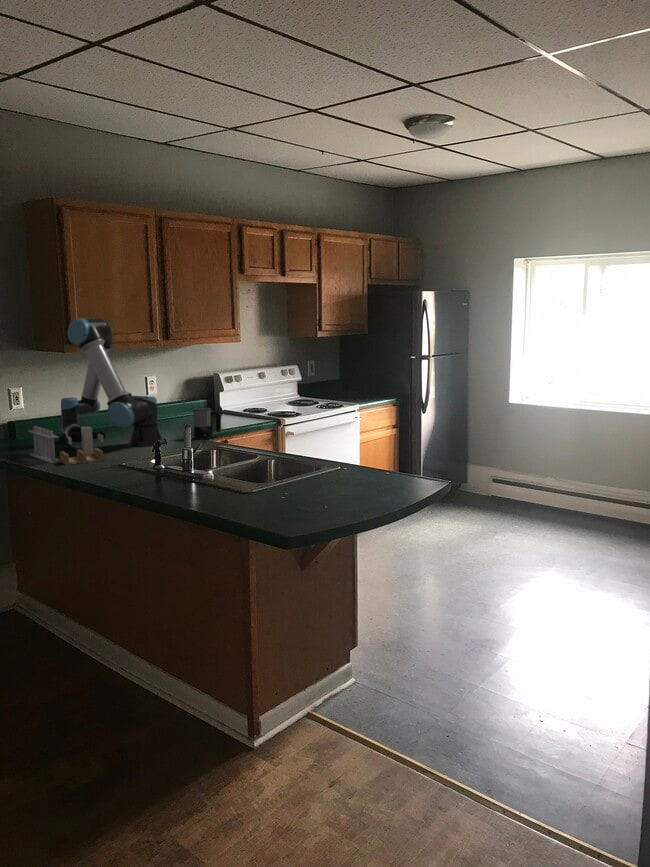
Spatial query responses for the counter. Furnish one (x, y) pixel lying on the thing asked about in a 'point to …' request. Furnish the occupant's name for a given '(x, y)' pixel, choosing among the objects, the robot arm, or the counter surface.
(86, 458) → the oak rack
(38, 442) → the test tube rack
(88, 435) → the grey upright block
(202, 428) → the milk frother
